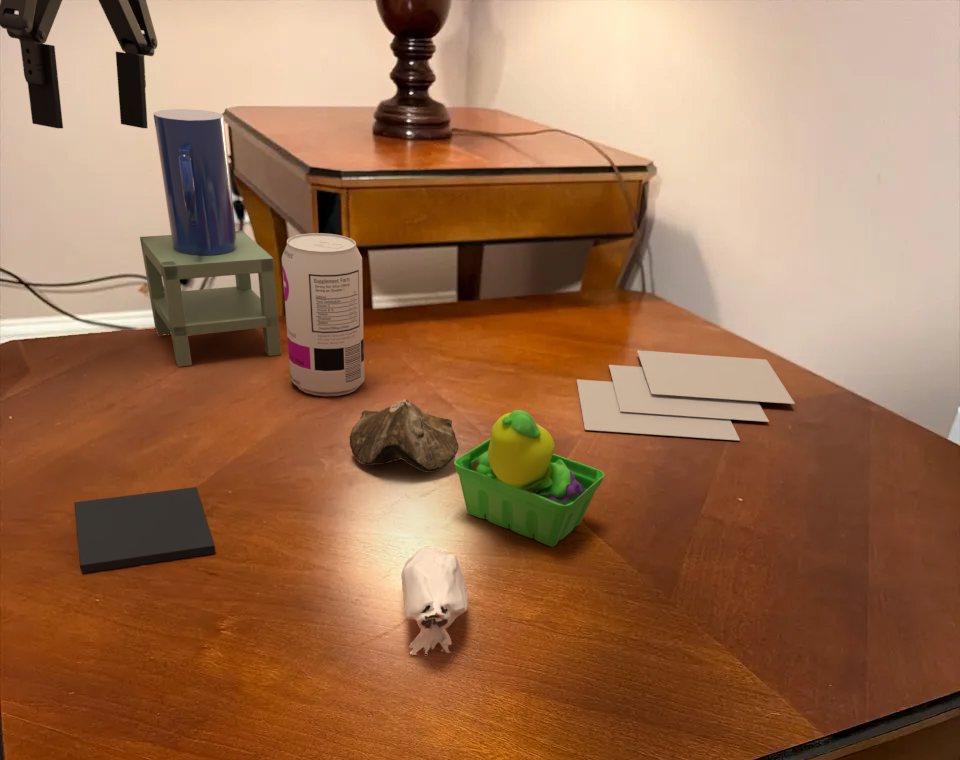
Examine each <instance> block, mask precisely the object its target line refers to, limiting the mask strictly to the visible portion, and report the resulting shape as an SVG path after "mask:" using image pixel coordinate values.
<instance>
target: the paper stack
mask: <svg viewBox="0 0 960 760" xmlns="http://www.w3.org/2000/svg"><path fill="white" fill-rule="evenodd" d="M636 352H637V355H638V358H639V361H640V364H641V366H633V365H620V364H608V369H609V372H610V376H611V380H612V381H609V380H608V381H607V380H591V379H579V378H577V379H576V385H577V390H578V396H579V402H580V408H581V414H582V421H583V426H584V430H585V431H596V432H610V433H622V434H623V433H626V434H638V435H639V434H640V435H654V436H669V437H682V438H694V439H695V438H697V439H709V440H724V441H725V440H727V441H741V438H740V437H739V434H738V433H737V431H736V429H735V426H734V425H733V423H732V421H731V420H734V421H735V420H737V421H747V422H762V423H770V420H769V419H768V417H767V415H766V413H765V411H764V410H763V407H762V406H761V404H760V402H761V403H773V404H774V403H775V404H787V405H789V404H790V405H796V403H795V401H794V399H793V398H792V397H791V395H790V393H789V392H788V390H787V389H786V387H785V385H784V384H783V382H782V381H781V379H780V378H779V376H778V375H777V373H776V371H775V370H774V369H773V367H772V366H771V363H769V361H768V359H765V358H751V357H737V356H736V357H735V356H722V355H710V354H709V355H708V354H697V353H696V354H695V353H683V352H682V353H681V352H680V353H679V352H669V351H653V350H638V349H636Z"/></svg>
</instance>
